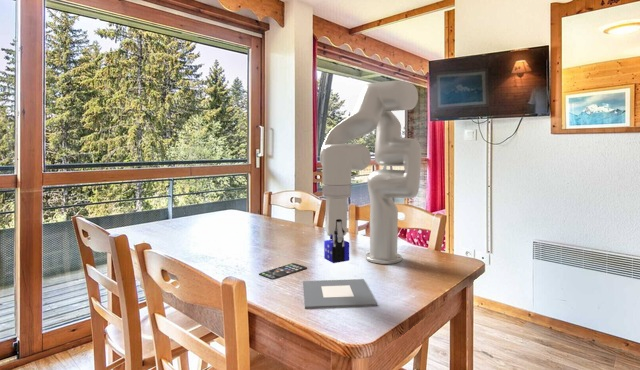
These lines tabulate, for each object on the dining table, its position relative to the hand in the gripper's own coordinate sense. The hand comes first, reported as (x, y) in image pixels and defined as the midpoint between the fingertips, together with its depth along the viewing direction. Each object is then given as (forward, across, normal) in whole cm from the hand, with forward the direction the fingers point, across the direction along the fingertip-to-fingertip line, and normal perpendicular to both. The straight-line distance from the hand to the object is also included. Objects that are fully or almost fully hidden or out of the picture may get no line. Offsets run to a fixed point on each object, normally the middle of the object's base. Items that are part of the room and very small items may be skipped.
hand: (336, 256), depth 102 cm
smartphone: (+11, -20, -15) cm, 27 cm away
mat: (+10, 0, 0) cm, 10 cm away
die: (+1, 0, 0) cm, 1 cm away
